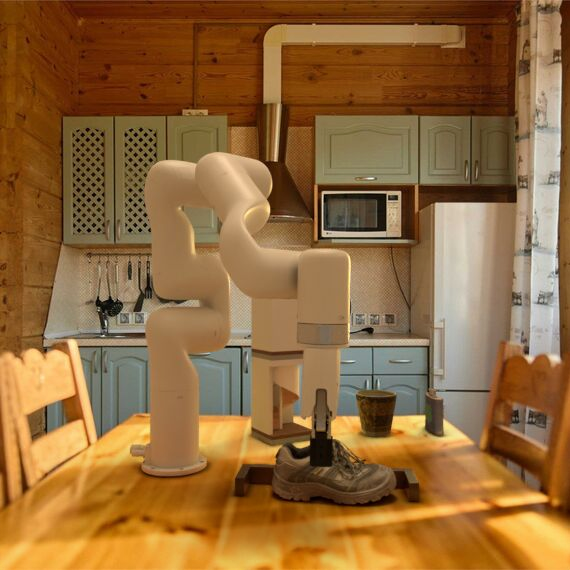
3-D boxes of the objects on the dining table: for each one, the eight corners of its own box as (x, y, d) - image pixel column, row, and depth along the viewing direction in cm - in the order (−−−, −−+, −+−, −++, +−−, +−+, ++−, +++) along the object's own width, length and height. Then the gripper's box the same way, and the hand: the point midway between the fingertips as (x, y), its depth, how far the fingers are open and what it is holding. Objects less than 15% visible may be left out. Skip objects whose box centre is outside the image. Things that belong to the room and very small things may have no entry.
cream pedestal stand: (271, 445, 122) (271, 291, 123) (251, 435, 132) (251, 291, 133) (314, 439, 128) (313, 291, 129) (291, 429, 137) (291, 292, 138)
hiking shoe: (402, 497, 84) (389, 422, 91) (269, 508, 85) (266, 433, 92) (398, 507, 92) (386, 437, 98) (276, 517, 93) (272, 447, 100)
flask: (445, 436, 131) (444, 391, 131) (433, 436, 131) (432, 391, 131) (433, 427, 140) (432, 385, 140) (422, 427, 140) (421, 385, 140)
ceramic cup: (367, 427, 140) (367, 388, 140) (403, 432, 134) (403, 392, 134) (342, 437, 130) (342, 395, 130) (380, 444, 124) (380, 400, 124)
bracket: (234, 495, 91) (234, 477, 91) (242, 480, 99) (242, 463, 99) (419, 501, 88) (419, 483, 89) (412, 485, 96) (412, 468, 96)
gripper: (299, 331, 85) (298, 448, 85) (292, 340, 70) (290, 482, 70) (348, 332, 84) (346, 450, 84) (351, 341, 69) (349, 485, 69)
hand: (321, 464), depth 77 cm, fingers closed
